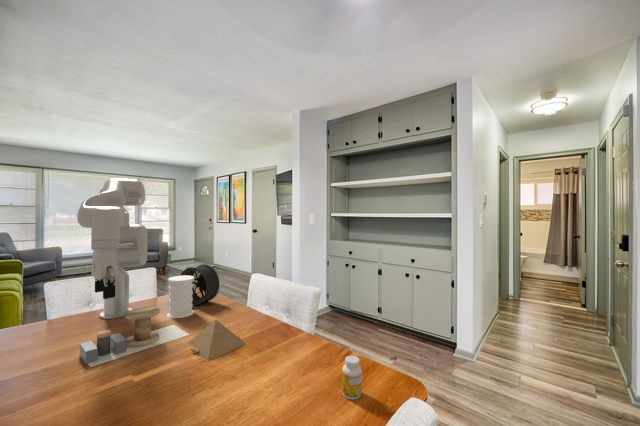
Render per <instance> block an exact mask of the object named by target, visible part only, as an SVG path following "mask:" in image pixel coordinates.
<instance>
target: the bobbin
mask: <svg viewBox="0 0 640 426" xmlns="http://www.w3.org/2000/svg"><path fill="white" fill-rule="evenodd" d="M160 311H161V310H160V307H155V306H154V307H153V306H147V307H146V306H145V307H138V308H135V309H132V310H131V311H128V312H127V313H126V314H125V316H124V319H126V320H129V321H132V320H133V322H134V324H133V335H130V336H128V337H127V347H132V348H134V347H142V346H146V345H150V344H152V343H154V342H156V341H157V340H158V339H159V334H158V333H156V332H151V327H152V325H151V324H152V323H151V322H152V320H151V318H153V317H155V316H156V317H157V315H159V314H160V313H161V312H160Z"/></svg>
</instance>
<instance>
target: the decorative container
mask: <svg viewBox="0 0 640 426" xmlns="http://www.w3.org/2000/svg"><path fill="white" fill-rule="evenodd" d="M194 279H195V276H194V275H193V276H188V275H183V276H180V275H175V276H172V277H168V283H169V286H168V287H169V293H168V297H169V300H168V303H169V306H168V310H169V312H168V313H167V314H166V316H167V318H170V319H181V318H183V319H184V318H187V317H190V316H192V315H193V314H195V311H194V310H193V306H194V305H192V301H193V297H192V294H193V291H192V288H194V284H192V281H193V282H195V280H194Z"/></svg>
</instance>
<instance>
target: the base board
mask: <svg viewBox="0 0 640 426" xmlns="http://www.w3.org/2000/svg"><path fill="white" fill-rule="evenodd" d="M150 332H156V333H158V334H159V339H158V340H157V341H156V342H154V343H152V344H150V345H146V346H142V347H134V348H132V347H127V351H126V352H123V353H120V354H115V353H114V352H113V351H112V350H111V349H110V353H109V354H107V355H104V356H98V361H95V362H91V363H88V364H87V365H88V366H89V367H90V368H93V367H95V366H98V365H101V364H105V363H107V362H110V361H114V360H117V359H120V358H123V357H126V356H129V355H132V354H134V353H137V352H141V351H144V350H146V349H147V350H148V349H150V348H153V347H156V346H159V345H161V344H165V343H168V342H172V341H174V340H178V339H181V338H183V337H186V336H189V335H190V334H189V333H188V332H187V331H185V330H184V329H182V328H180V327H178V326H176V325H175V324H172V325H168V326H166V327H161V328H158V329H155V330H150ZM127 338H128V337H127ZM127 338H126V337H125V339H127Z"/></svg>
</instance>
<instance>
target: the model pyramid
mask: <svg viewBox="0 0 640 426" xmlns="http://www.w3.org/2000/svg"><path fill="white" fill-rule="evenodd" d="M187 344H189V345H190V346H191V348H190V350H191V351H192V352H194V353H193V356H196V355H197V356H198V357H200V358H201V359H203V360H205V361H206V362H209V361H210V360H212V359H215V358H218V357H220V356H222V355H225V354H226V353H229V352H232V351H233V350H236V349H238V348H240V347H243V346H245V345H247V343H246V342H245V341H244V340H243V339H241V338H240V337H239V336H238V335H237V334H235V333H234V332H232V331H231V330H230V329H228V328H227V326H225V325H224V324H222V323H221V322H220V321H219V320H217V319H215V320H214V321H212V322H211V323H210V324H208V325H207V326H206V327H205V328H204V329H203V330H200V332H199V333H198V334H196V335H195V336H193V338H191V339H190V340H189V341H188V342H187Z"/></svg>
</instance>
